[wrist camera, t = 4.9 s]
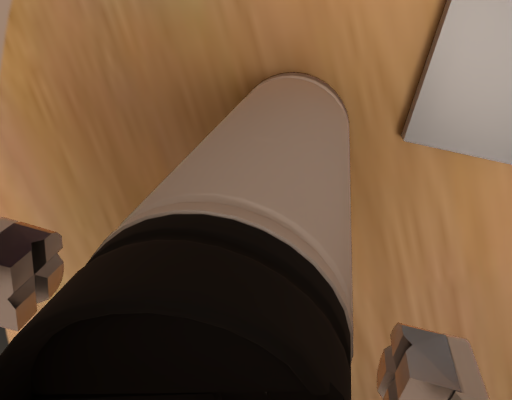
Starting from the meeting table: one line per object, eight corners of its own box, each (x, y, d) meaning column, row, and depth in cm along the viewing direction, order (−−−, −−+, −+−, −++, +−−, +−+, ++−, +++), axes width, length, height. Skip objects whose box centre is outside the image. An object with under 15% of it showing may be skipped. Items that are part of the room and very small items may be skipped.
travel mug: (222, 83, 24) (-123, 331, 6) (342, 62, 22) (328, 320, 5) (245, 185, 27) (41, 571, 9) (354, 173, 25) (374, 618, 7)
